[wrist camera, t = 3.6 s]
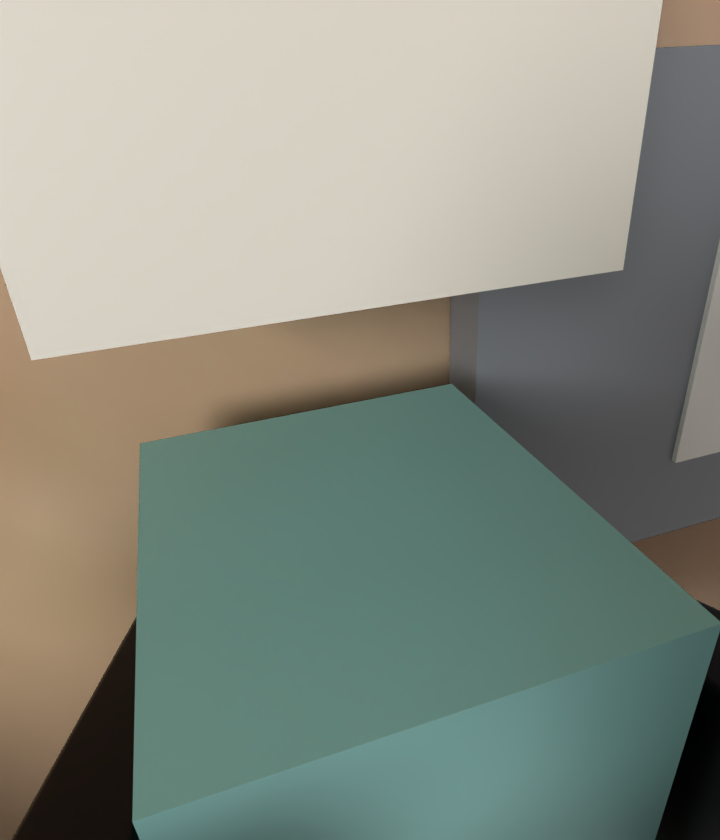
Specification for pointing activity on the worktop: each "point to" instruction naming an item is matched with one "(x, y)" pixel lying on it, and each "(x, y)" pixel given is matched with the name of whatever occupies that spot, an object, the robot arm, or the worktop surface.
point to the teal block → (398, 638)
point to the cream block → (307, 156)
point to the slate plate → (623, 333)
